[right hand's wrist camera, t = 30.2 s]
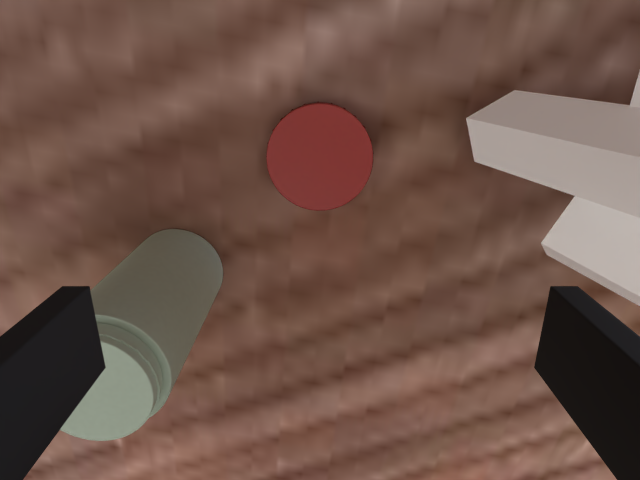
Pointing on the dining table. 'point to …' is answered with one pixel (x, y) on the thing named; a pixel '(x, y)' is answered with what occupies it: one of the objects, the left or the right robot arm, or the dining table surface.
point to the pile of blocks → (575, 175)
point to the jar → (146, 330)
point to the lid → (319, 156)
